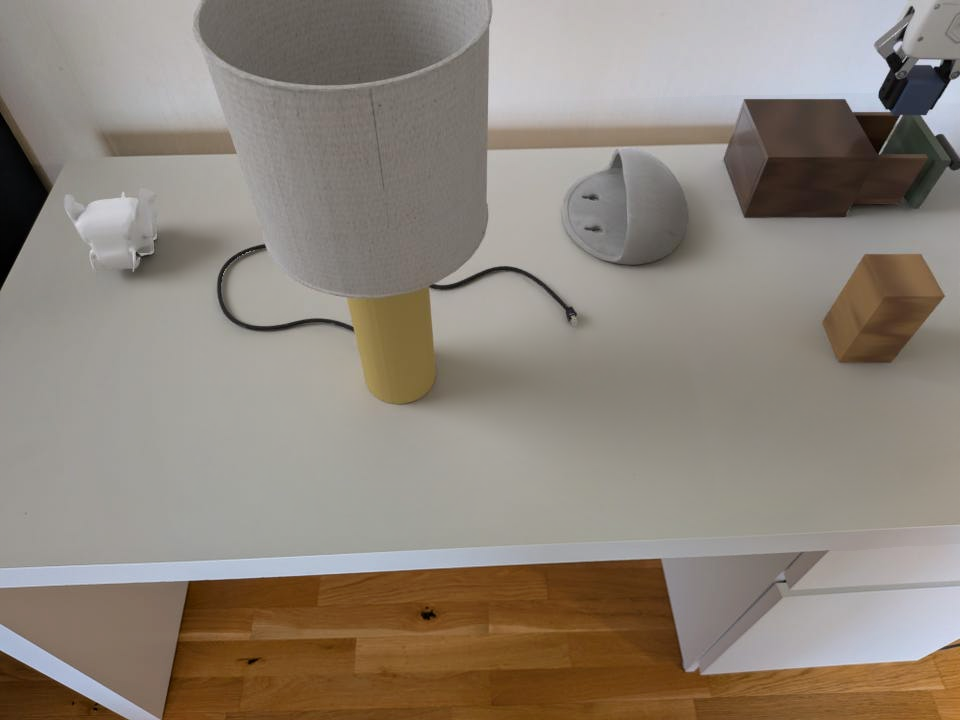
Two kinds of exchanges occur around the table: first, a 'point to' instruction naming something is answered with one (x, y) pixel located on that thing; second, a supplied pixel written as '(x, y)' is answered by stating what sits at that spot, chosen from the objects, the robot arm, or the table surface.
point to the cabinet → (798, 157)
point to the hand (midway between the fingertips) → (905, 102)
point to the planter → (627, 209)
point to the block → (918, 91)
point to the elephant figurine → (116, 228)
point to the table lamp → (361, 157)
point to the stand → (881, 307)
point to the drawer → (903, 159)
